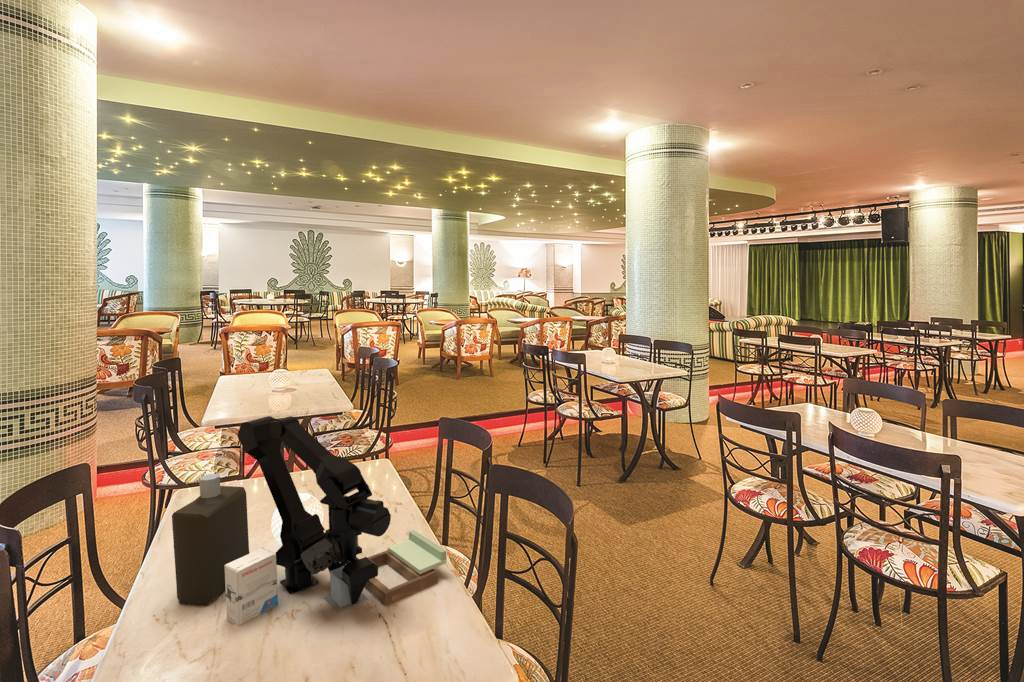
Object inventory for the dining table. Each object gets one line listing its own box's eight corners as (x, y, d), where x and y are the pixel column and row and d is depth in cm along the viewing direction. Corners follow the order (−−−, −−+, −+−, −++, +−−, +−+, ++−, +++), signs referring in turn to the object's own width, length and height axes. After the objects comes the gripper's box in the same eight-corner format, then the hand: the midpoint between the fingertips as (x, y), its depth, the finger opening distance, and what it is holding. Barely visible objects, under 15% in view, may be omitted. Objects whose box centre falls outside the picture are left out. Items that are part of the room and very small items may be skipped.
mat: (322, 599, 115) (322, 597, 115) (353, 586, 120) (353, 585, 120) (337, 614, 110) (337, 612, 110) (368, 600, 115) (368, 599, 115)
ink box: (265, 598, 116) (262, 546, 114) (279, 606, 113) (277, 552, 112) (225, 619, 108) (222, 563, 107) (239, 628, 106) (236, 571, 104)
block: (330, 597, 115) (330, 571, 115) (350, 589, 118) (350, 563, 118) (340, 607, 112) (339, 579, 111) (360, 598, 115) (359, 572, 114)
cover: (388, 551, 129) (387, 539, 129) (413, 541, 134) (413, 529, 134) (419, 574, 119) (419, 561, 119) (446, 563, 124) (446, 550, 124)
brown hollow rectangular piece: (350, 576, 124) (350, 563, 124) (400, 557, 133) (399, 545, 133) (385, 607, 113) (385, 593, 112) (437, 584, 121) (437, 571, 121)
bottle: (253, 567, 128) (248, 465, 125) (208, 608, 112) (201, 492, 109) (221, 565, 129) (215, 463, 126) (173, 605, 113) (165, 490, 110)
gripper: (287, 521, 115) (290, 591, 116) (324, 555, 101) (327, 633, 103) (337, 507, 122) (340, 572, 124) (378, 536, 108) (380, 609, 110)
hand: (345, 595), depth 115 cm, fingers open, 8 cm apart
